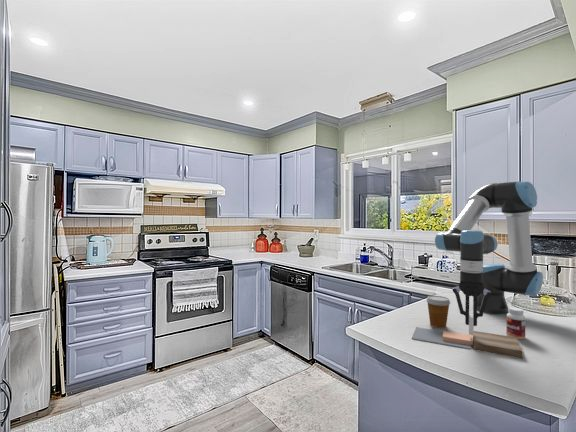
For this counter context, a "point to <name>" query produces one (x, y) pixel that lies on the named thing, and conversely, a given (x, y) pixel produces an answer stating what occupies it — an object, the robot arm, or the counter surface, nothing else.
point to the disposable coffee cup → (438, 310)
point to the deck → (497, 344)
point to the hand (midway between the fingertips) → (471, 333)
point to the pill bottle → (516, 323)
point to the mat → (435, 337)
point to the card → (457, 337)
